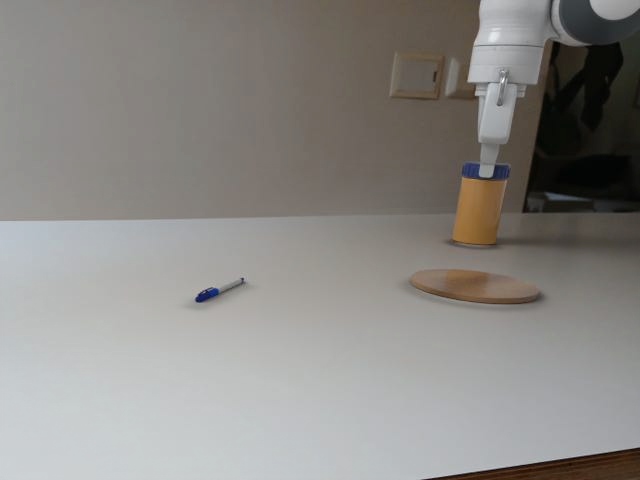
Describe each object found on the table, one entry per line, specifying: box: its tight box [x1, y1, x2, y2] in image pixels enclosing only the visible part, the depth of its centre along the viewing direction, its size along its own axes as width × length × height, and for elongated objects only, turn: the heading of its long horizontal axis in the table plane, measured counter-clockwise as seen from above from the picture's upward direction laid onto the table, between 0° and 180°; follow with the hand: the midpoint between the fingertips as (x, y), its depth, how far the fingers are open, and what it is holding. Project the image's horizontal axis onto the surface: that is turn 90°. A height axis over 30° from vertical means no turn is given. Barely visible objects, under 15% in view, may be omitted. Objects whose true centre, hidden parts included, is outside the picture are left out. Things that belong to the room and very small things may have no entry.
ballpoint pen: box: [194, 277, 245, 303], centre depth 76 cm, size 10×1×1 cm, turn 151°
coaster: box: [410, 268, 540, 305], centre depth 81 cm, size 13×13×1 cm
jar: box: [451, 175, 508, 246], centre depth 107 cm, size 6×6×11 cm
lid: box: [461, 160, 511, 180], centre depth 105 cm, size 6×6×2 cm
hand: (484, 174), depth 105 cm, fingers closed on lid, 6 cm apart
